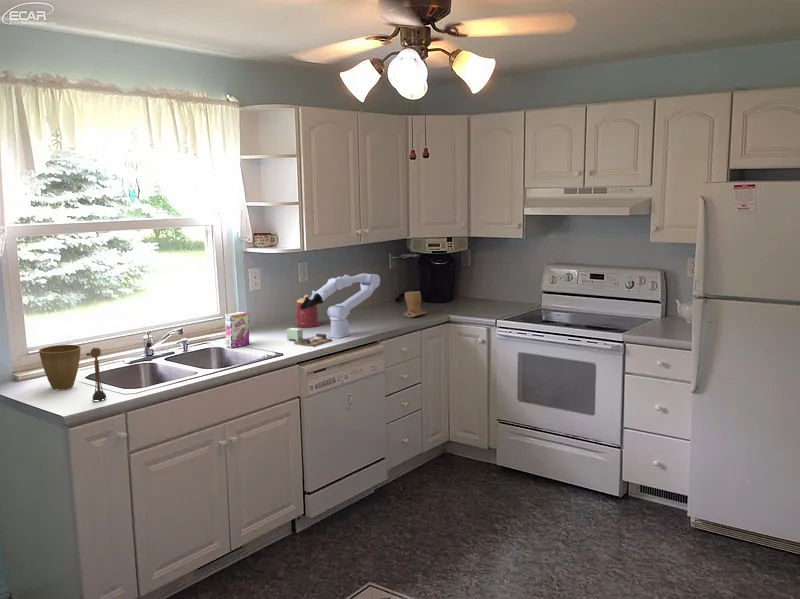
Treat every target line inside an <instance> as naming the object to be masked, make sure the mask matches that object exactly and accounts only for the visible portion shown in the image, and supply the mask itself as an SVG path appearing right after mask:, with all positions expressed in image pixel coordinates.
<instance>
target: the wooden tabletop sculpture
mask: <svg viewBox="0 0 800 599" xmlns="http://www.w3.org/2000/svg"><path fill="white" fill-rule="evenodd" d="M101 354H102V351H101V348H99V347H98V346H95V347H92V349H90V352H87V353H86V357H89V356H90V357H92V358H94V360H93V361H94V374H95V375H94V376H95V389H94V393H93V394H92V398H91V399H93V400H102V399H105V398H106V397H107V395H106V393H105V392H104V390H103V387H102V383H101V382H102V381H101V373H100V372H101V371H100V362H99V359H98V358H99V357H100V356H101ZM93 400H92V401H93Z"/></svg>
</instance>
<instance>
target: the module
mask: <svg viewBox="0 0 800 599" xmlns="http://www.w3.org/2000/svg"><path fill="white" fill-rule="evenodd" d="M303 332H304V331H303V328H299V327H298V328H296V327H290V328H287V329H286V341H287V342H291V341H293V340H295V342H297V341H299V339H301V338H304V334H303Z"/></svg>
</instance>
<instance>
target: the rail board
mask: <svg viewBox="0 0 800 599" xmlns="http://www.w3.org/2000/svg"><path fill="white" fill-rule="evenodd" d="M332 341H333V339H332V338H329V337H328V338H327V334H325V333H316V335H315V336H311V337H307V338H304V337H303V338H301V339H299V341H297V342H296V341H294V343H293V345H299V346H306V347H317V346H319V345H323V344H326V343H327V344H328V343H330V342H332Z"/></svg>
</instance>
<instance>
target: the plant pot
mask: <svg viewBox="0 0 800 599" xmlns="http://www.w3.org/2000/svg"><path fill="white" fill-rule="evenodd" d="M81 350H82V346H80V345H77V344H61V345H60V344H59V345H58V344H57V345H50V346H46V347H43V348H40V349H39V350H38V353H39V357H40V361H41V364H42V367H43V370H44V374H45V376H46V378H47V380H48V383H49V385H50V386H51V388H53V389H52V390H54V389H58V390H57V391H60V390H59V389H65V390H68V389H67V388H70V389H72V388H73V387H74V385H75V381H76V379H77V375H78V370H79V365H80V360H81V358H80V357H81ZM72 386H73V387H72ZM71 387H72V388H71Z"/></svg>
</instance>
